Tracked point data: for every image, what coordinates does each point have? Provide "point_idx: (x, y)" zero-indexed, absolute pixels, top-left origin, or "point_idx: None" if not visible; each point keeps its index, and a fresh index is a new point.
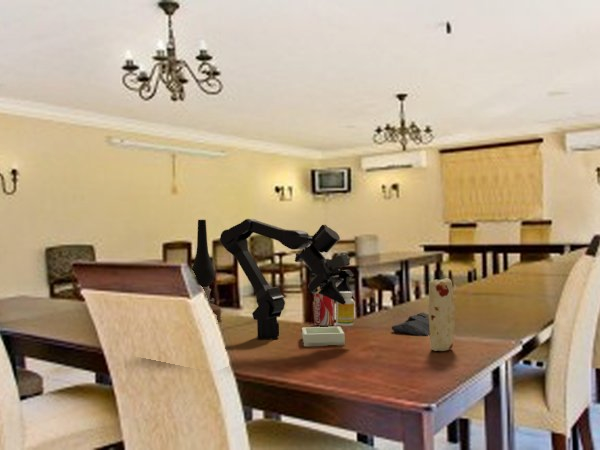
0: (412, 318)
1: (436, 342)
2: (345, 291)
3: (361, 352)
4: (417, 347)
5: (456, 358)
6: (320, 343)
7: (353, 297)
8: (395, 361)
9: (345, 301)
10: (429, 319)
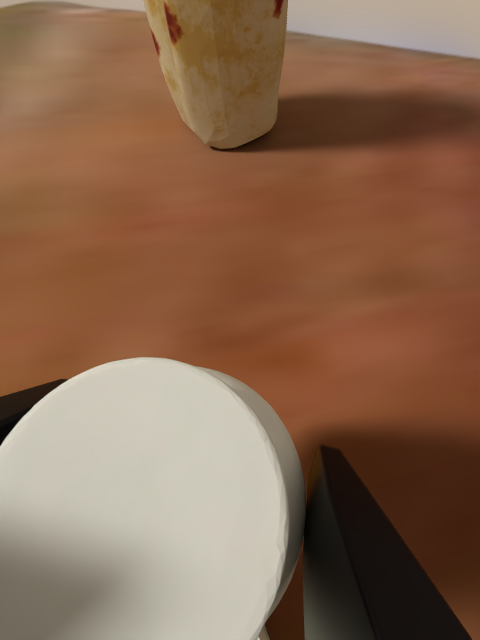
0: None
1: (276, 101)
2: (28, 531)
3: (345, 358)
4: (196, 189)
5: (322, 92)
6: (268, 638)
7: (35, 391)
8: (436, 219)
9: (295, 454)
10: (257, 25)
